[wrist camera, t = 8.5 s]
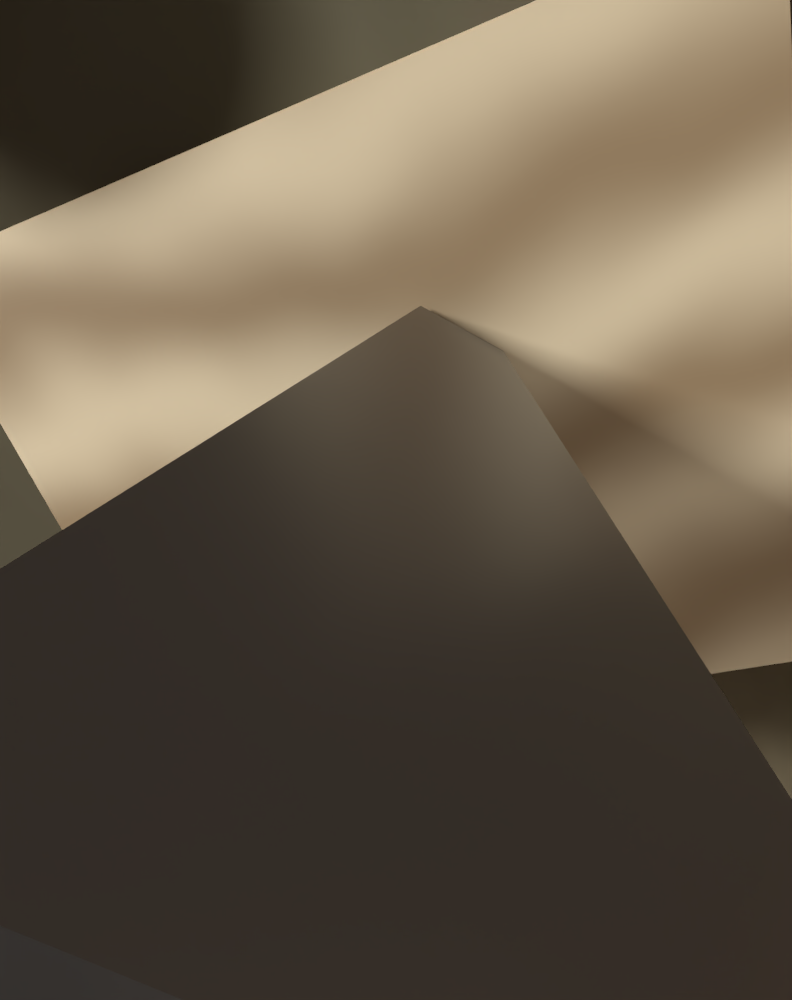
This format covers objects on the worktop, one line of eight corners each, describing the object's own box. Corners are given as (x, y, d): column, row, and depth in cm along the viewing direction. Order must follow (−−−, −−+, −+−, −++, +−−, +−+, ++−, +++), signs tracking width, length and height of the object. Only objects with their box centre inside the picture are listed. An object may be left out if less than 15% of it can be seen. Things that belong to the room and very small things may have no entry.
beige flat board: (-46, 270, 17) (-94, 269, 16) (749, -64, 12) (789, -113, 11) (206, 726, 24) (189, 756, 23) (787, 631, 19) (815, 661, 17)
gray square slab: (249, 657, 20) (-223, 1502, 6) (420, 305, 14) (-344, 781, 1) (310, 686, 20) (-10, 1564, 6) (503, 350, 15) (1178, 1405, 1)
